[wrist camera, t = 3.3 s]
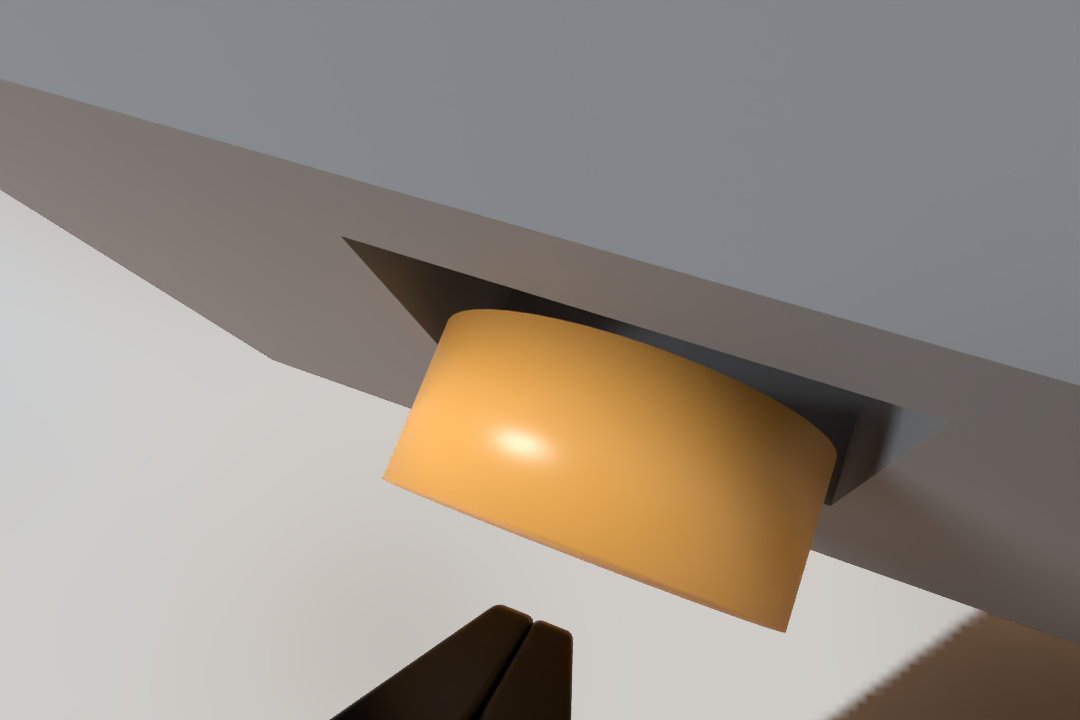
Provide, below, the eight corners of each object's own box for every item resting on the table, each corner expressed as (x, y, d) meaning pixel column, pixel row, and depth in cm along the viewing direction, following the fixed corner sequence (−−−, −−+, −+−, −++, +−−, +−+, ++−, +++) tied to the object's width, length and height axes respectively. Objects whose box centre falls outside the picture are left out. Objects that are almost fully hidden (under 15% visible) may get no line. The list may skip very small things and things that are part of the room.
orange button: (763, 629, 10) (819, 639, 6) (444, 507, 12) (313, 448, 7) (804, 491, 11) (881, 415, 7) (493, 386, 12) (394, 266, 8)
